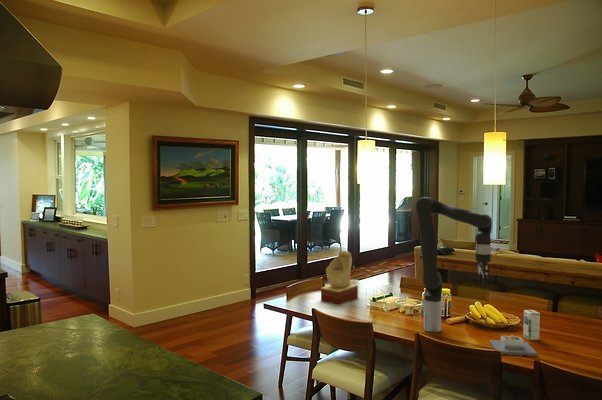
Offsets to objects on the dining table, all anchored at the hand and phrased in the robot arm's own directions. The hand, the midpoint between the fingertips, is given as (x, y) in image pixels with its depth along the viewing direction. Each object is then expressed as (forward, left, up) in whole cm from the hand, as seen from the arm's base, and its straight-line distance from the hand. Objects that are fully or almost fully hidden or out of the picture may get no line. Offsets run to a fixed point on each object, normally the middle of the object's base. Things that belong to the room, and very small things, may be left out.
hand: (483, 283), depth 225 cm
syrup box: (+26, +6, -30) cm, 40 cm away
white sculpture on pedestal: (-80, +72, -30) cm, 112 cm away
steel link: (+11, -12, -29) cm, 33 cm away
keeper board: (+11, -12, -30) cm, 34 cm away
